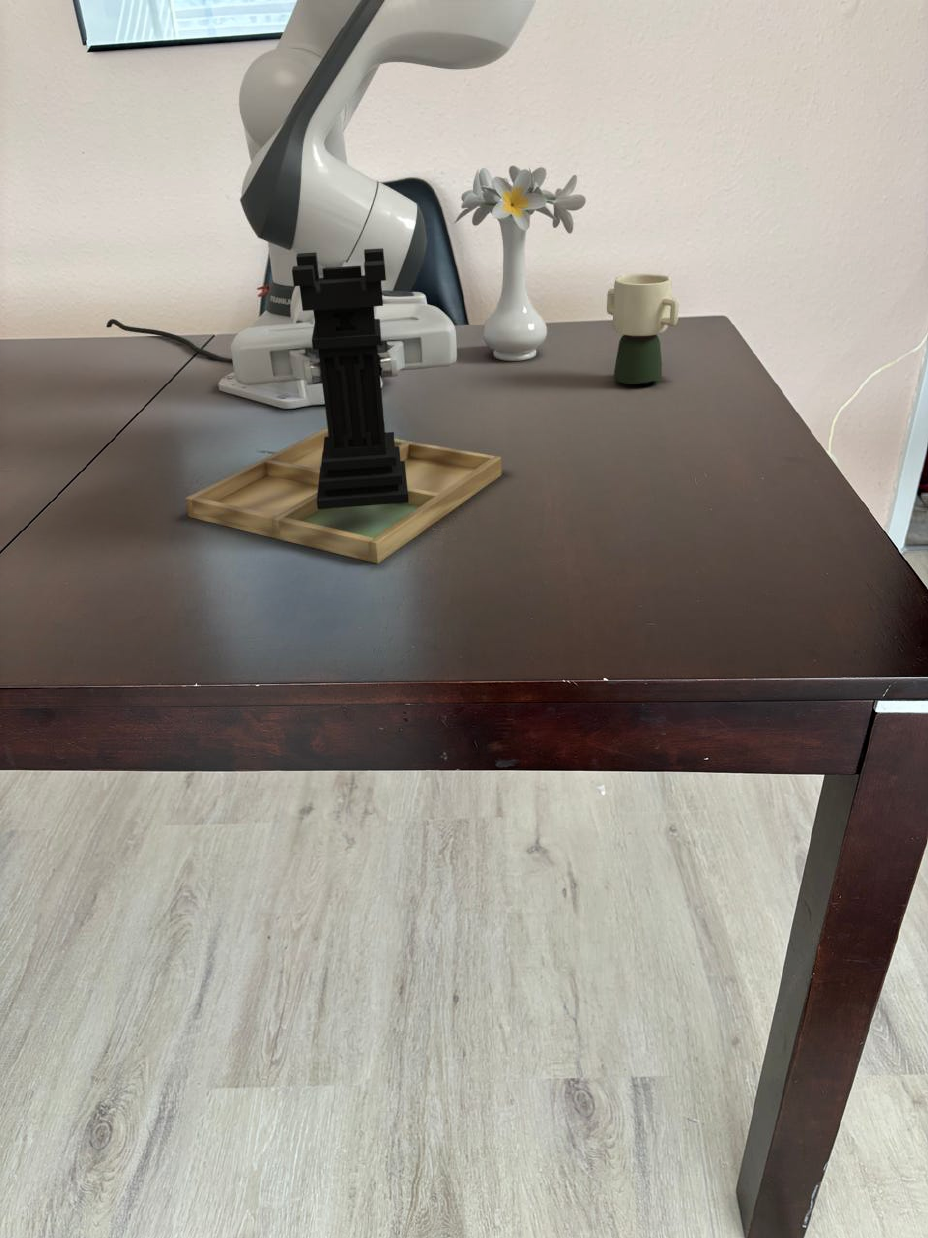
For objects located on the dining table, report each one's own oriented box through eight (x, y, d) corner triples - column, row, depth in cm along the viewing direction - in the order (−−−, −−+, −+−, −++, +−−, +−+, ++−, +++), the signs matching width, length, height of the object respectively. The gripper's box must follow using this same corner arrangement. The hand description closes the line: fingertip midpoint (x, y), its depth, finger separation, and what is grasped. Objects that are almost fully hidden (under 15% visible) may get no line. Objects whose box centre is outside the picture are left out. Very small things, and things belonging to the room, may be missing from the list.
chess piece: (321, 474, 90) (292, 252, 80) (405, 468, 91) (387, 247, 81) (317, 509, 84) (286, 271, 73) (408, 502, 84) (389, 264, 74)
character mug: (688, 383, 123) (697, 279, 116) (654, 396, 119) (661, 288, 112) (621, 368, 130) (626, 269, 123) (587, 380, 126) (590, 277, 119)
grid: (188, 517, 92) (184, 498, 91) (329, 443, 109) (327, 426, 108) (378, 564, 82) (376, 543, 81) (501, 475, 98) (501, 456, 97)
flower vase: (593, 349, 139) (599, 160, 126) (498, 376, 129) (495, 173, 116) (531, 334, 148) (531, 156, 135) (439, 358, 138) (429, 168, 125)
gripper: (225, 308, 89) (221, 345, 78) (439, 290, 92) (466, 323, 81) (236, 374, 93) (234, 419, 81) (442, 355, 96) (469, 396, 84)
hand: (352, 371), depth 81 cm, fingers closed on chess piece, 5 cm apart
